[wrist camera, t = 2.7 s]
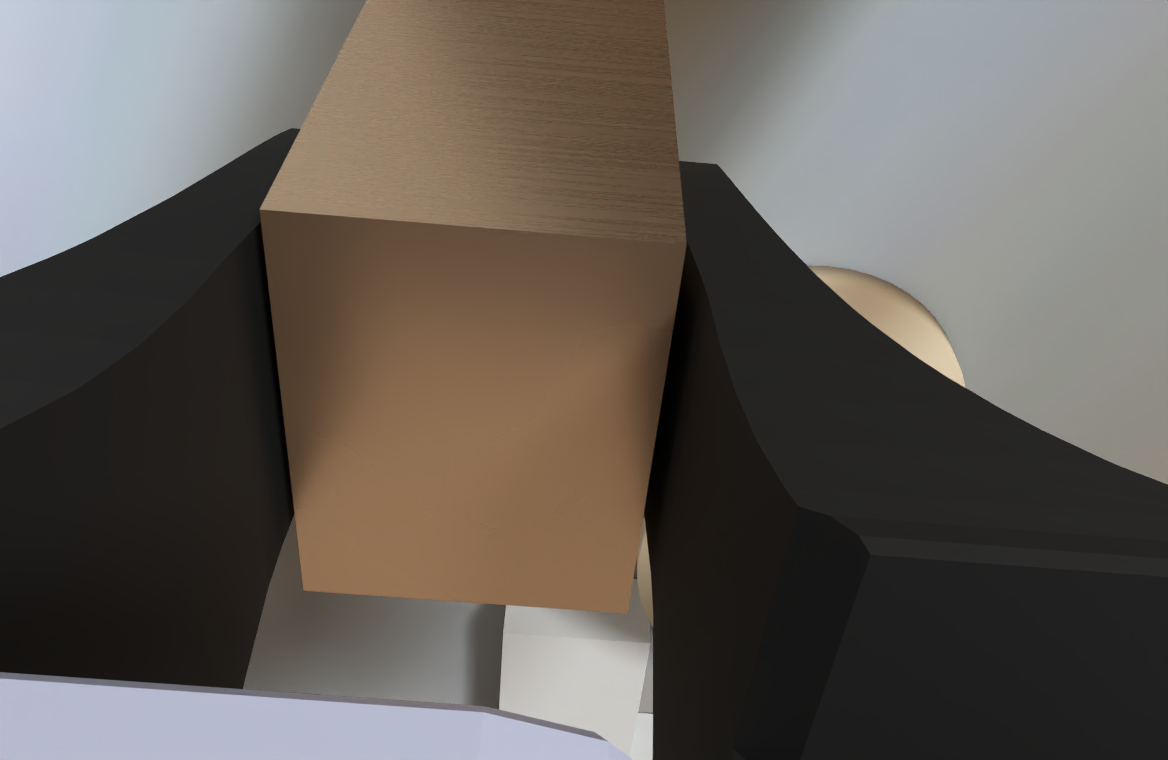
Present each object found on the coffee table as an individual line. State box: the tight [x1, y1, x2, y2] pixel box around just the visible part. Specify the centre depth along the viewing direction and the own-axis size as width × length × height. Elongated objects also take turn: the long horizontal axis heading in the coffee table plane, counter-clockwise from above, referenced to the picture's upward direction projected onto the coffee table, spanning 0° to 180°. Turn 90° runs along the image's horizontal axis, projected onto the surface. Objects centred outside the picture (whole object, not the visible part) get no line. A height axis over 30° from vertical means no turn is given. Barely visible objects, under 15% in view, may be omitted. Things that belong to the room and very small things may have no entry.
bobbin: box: [637, 266, 965, 627], centre depth 22 cm, size 7×7×5 cm
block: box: [260, 0, 687, 614], centre depth 11 cm, size 3×4×5 cm
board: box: [499, 579, 653, 760], centre depth 30 cm, size 16×8×2 cm, turn 85°
